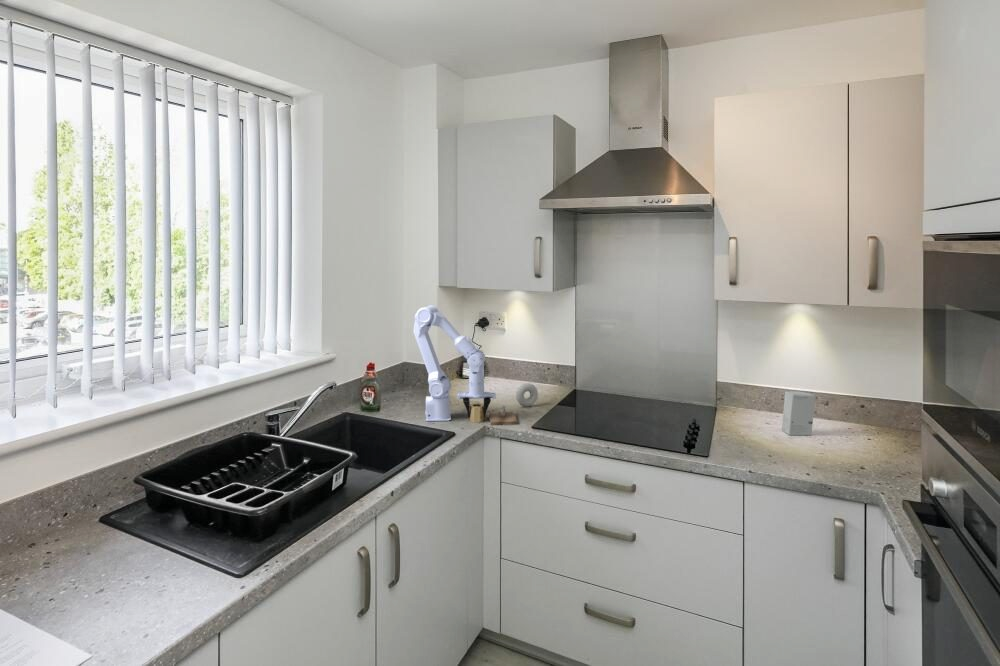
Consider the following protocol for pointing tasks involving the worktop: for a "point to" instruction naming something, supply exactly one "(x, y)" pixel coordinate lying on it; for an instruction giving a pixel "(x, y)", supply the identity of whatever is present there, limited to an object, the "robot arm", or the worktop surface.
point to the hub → (476, 412)
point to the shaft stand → (502, 417)
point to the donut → (520, 395)
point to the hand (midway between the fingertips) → (476, 416)
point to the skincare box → (798, 413)
